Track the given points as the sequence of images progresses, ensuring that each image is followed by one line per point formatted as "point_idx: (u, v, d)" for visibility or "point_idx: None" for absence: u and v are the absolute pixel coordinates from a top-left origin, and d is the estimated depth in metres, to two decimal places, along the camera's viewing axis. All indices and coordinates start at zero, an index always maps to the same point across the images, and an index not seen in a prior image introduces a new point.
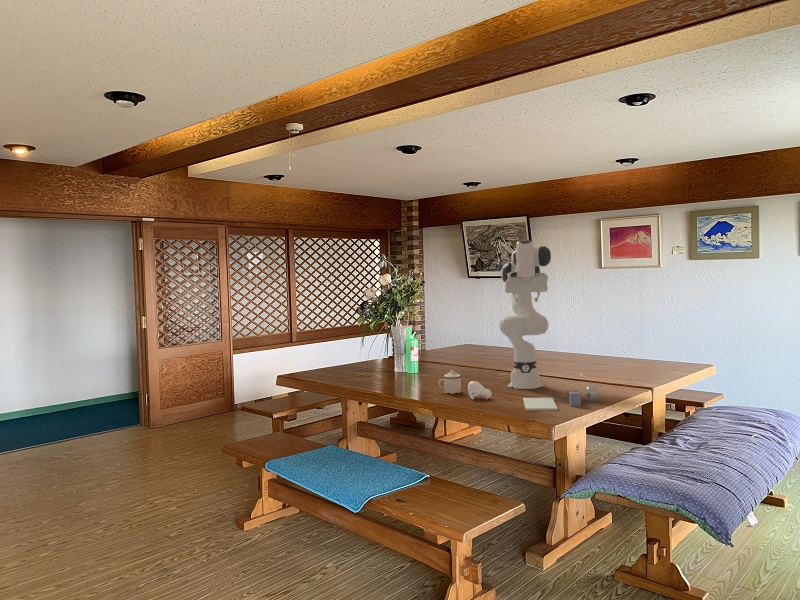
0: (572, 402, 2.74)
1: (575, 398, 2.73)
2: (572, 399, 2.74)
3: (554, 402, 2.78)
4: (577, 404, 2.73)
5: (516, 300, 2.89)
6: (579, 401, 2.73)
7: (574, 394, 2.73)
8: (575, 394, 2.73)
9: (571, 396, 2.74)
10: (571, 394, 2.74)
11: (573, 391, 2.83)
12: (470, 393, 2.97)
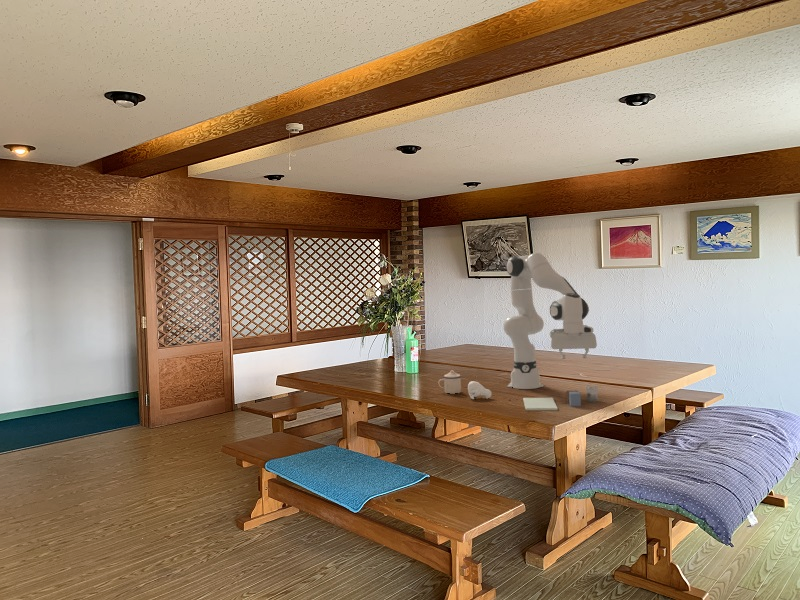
0: (572, 402, 2.74)
1: (575, 398, 2.73)
2: (572, 399, 2.74)
3: (554, 402, 2.78)
4: (577, 404, 2.73)
5: None
6: (579, 401, 2.73)
7: (574, 394, 2.73)
8: (575, 394, 2.73)
9: (571, 396, 2.74)
10: (571, 394, 2.74)
11: (573, 391, 2.83)
12: (470, 393, 2.97)
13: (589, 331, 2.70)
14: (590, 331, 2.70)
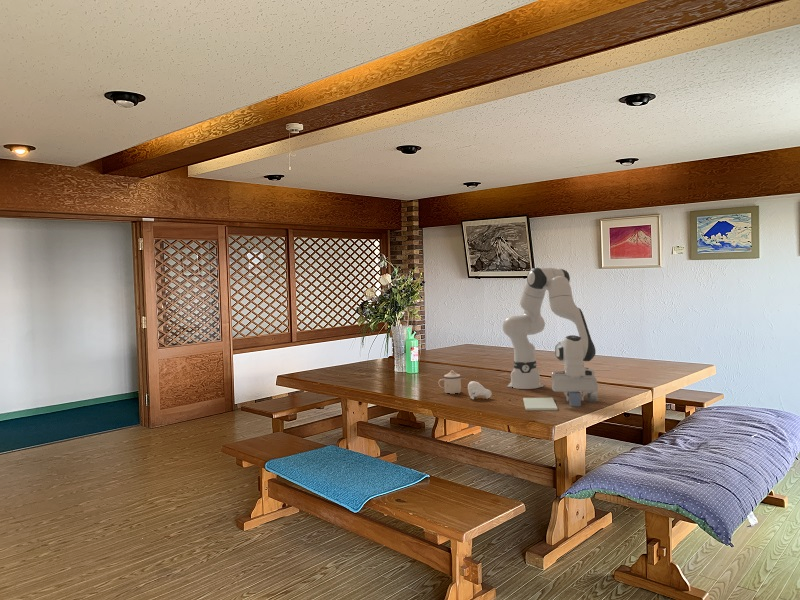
0: (572, 402, 2.74)
1: (575, 398, 2.73)
2: (572, 399, 2.74)
3: (554, 402, 2.78)
4: (577, 404, 2.73)
5: None
6: (579, 401, 2.73)
7: (574, 394, 2.73)
8: (575, 394, 2.73)
9: (571, 396, 2.74)
10: (571, 394, 2.74)
11: None
12: (470, 393, 2.97)
13: (590, 374, 2.71)
14: (591, 374, 2.71)
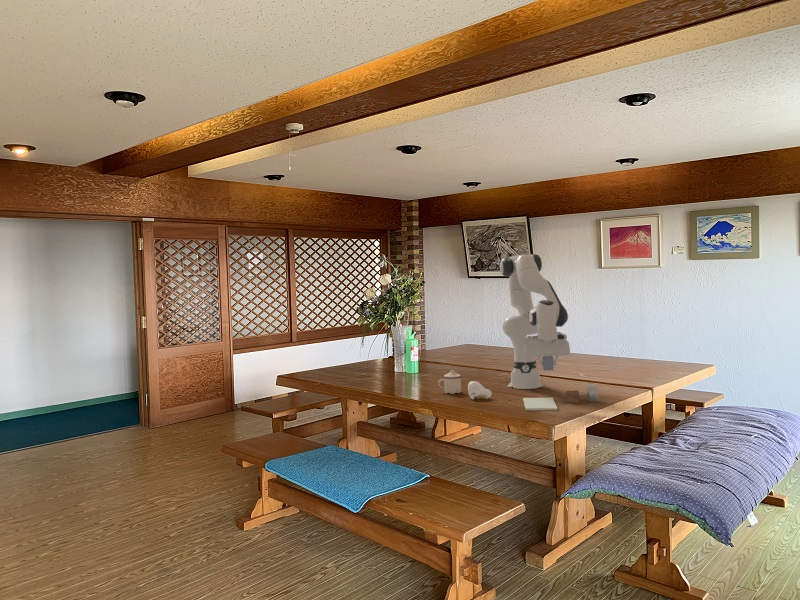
0: (545, 366, 2.75)
1: (548, 362, 2.75)
2: (545, 363, 2.75)
3: (554, 402, 2.78)
4: (550, 368, 2.75)
5: None
6: (551, 365, 2.75)
7: (547, 358, 2.75)
8: (548, 358, 2.75)
9: (544, 360, 2.75)
10: (544, 358, 2.75)
11: (573, 391, 2.83)
12: (470, 393, 2.97)
13: (562, 338, 2.73)
14: (563, 338, 2.73)
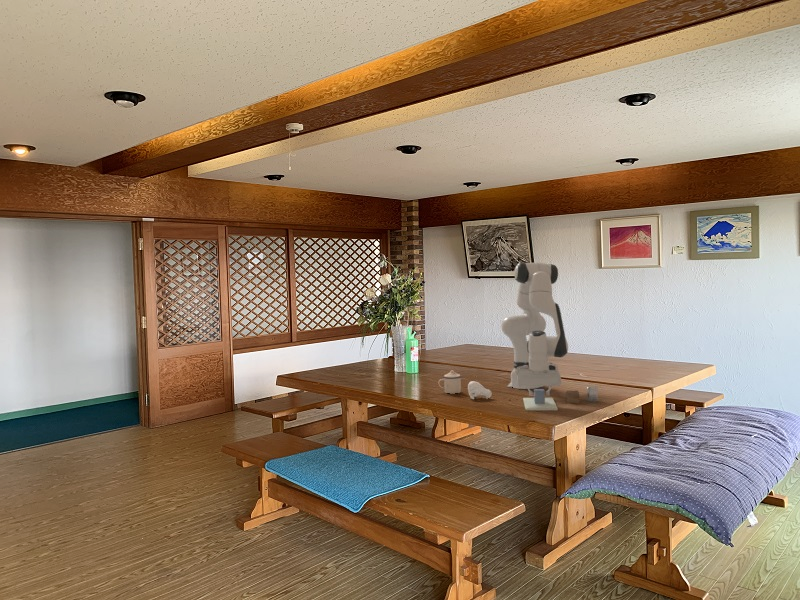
0: (536, 399, 2.77)
1: (539, 395, 2.77)
2: (536, 396, 2.77)
3: (554, 402, 2.78)
4: (541, 401, 2.77)
5: None
6: (543, 398, 2.76)
7: (538, 392, 2.77)
8: (539, 392, 2.77)
9: (535, 394, 2.77)
10: (535, 392, 2.77)
11: (573, 391, 2.83)
12: (470, 393, 2.97)
13: (554, 369, 2.74)
14: (555, 369, 2.74)
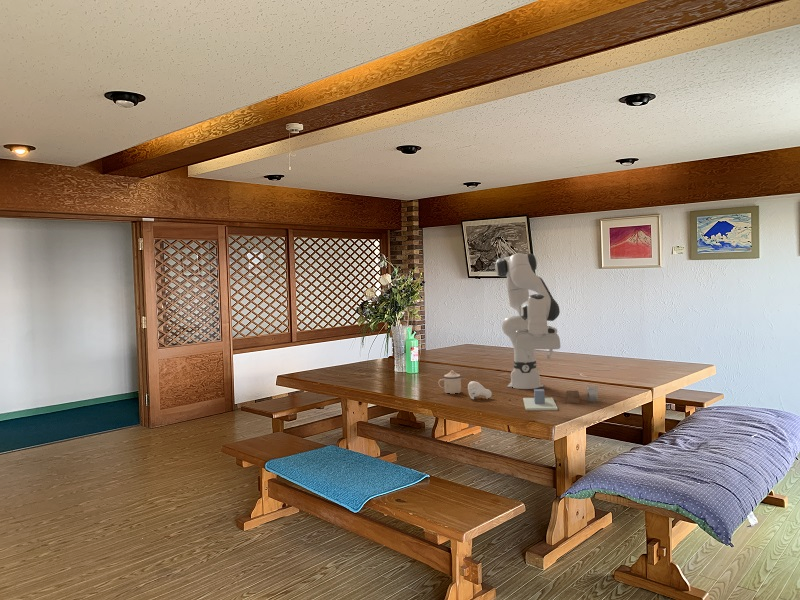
0: (536, 399, 2.77)
1: (539, 395, 2.77)
2: (536, 396, 2.77)
3: (554, 402, 2.78)
4: (541, 401, 2.77)
5: None
6: (543, 398, 2.76)
7: (538, 392, 2.77)
8: (539, 392, 2.77)
9: (535, 394, 2.77)
10: (535, 392, 2.77)
11: (573, 391, 2.83)
12: (470, 393, 2.97)
13: (553, 332, 2.73)
14: (554, 332, 2.73)
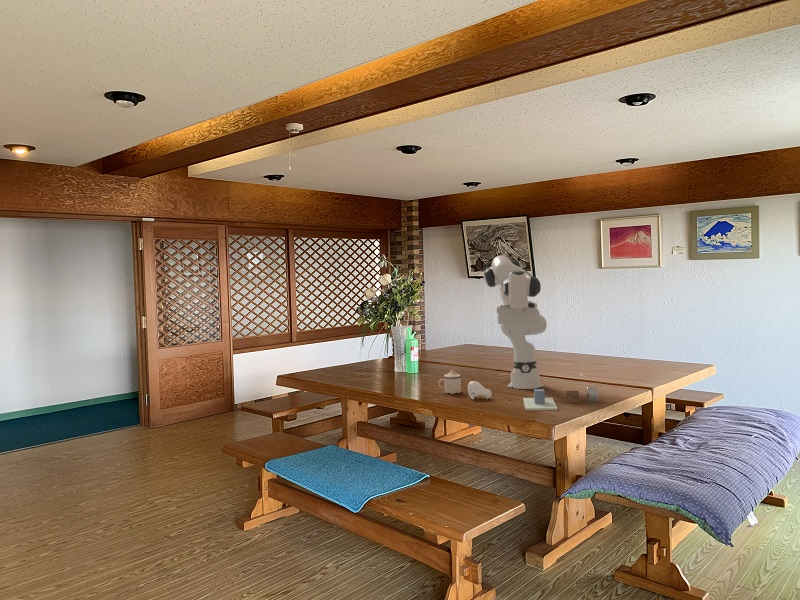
0: (536, 399, 2.77)
1: (539, 395, 2.77)
2: (536, 396, 2.77)
3: (554, 402, 2.78)
4: (541, 401, 2.77)
5: None
6: (543, 398, 2.76)
7: (538, 392, 2.77)
8: (539, 392, 2.77)
9: (535, 394, 2.77)
10: (535, 392, 2.77)
11: (573, 391, 2.83)
12: (470, 393, 2.97)
13: (533, 306, 2.83)
14: (534, 306, 2.83)
